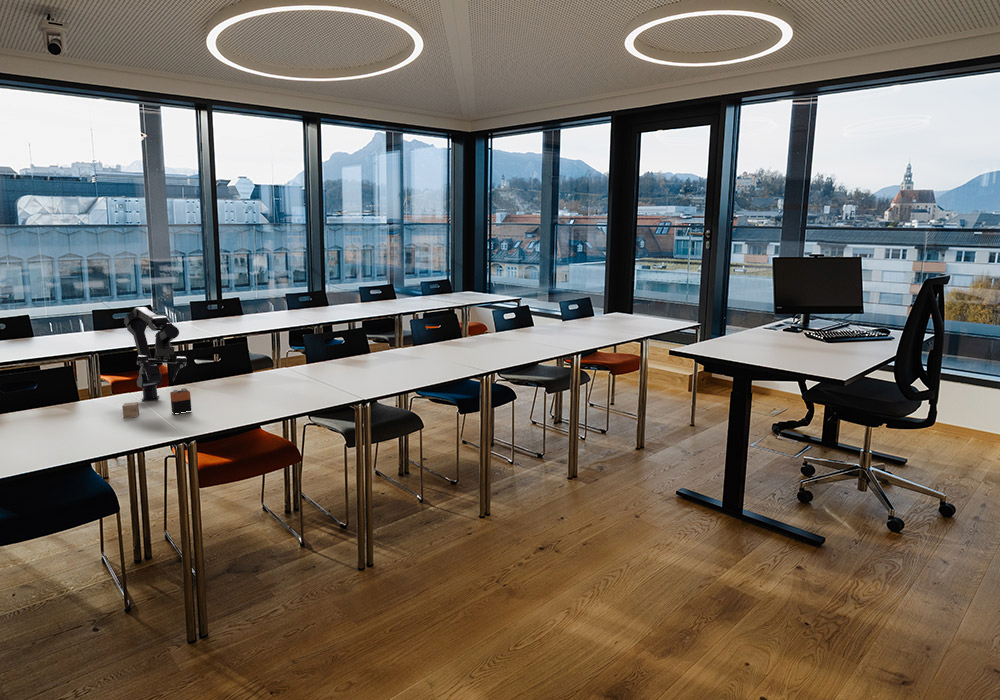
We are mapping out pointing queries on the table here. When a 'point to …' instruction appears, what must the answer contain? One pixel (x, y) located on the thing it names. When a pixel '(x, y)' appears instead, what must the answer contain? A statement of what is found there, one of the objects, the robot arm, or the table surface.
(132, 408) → the beige cube
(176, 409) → the battery
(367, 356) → the table surface
